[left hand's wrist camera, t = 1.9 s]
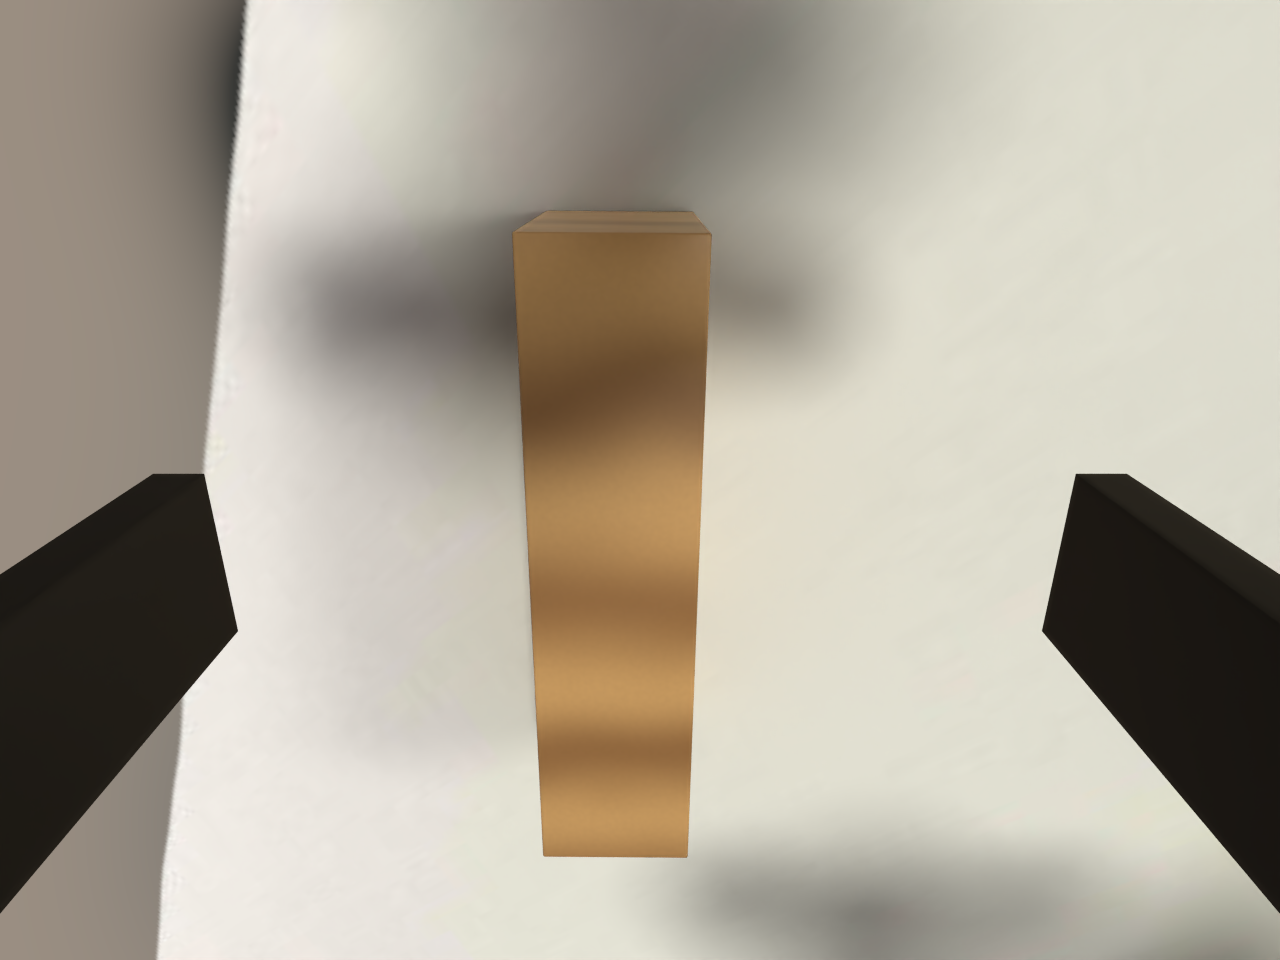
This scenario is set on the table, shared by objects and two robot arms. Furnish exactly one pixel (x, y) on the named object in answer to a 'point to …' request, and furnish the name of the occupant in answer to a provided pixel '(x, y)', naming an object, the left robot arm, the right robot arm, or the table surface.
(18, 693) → the left robot arm
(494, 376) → the table surface
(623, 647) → the bar
